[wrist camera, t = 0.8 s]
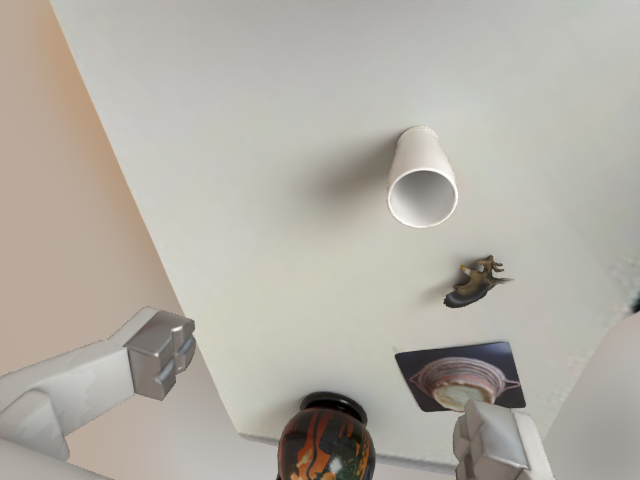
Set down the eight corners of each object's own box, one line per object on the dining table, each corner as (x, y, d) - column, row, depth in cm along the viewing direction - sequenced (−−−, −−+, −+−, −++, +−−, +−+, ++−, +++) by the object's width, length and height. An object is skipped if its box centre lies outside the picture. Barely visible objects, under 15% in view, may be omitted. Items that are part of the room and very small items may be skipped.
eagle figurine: (457, 246, 52) (431, 293, 56) (494, 275, 46) (462, 325, 50) (490, 247, 55) (463, 292, 59) (528, 275, 50) (496, 322, 54)
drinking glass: (383, 132, 46) (374, 183, 34) (435, 109, 43) (445, 155, 31) (402, 177, 49) (400, 237, 37) (452, 157, 46) (468, 216, 34)
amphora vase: (378, 389, 78) (366, 550, 55) (378, 438, 90) (369, 587, 67) (285, 377, 82) (240, 521, 60) (297, 425, 94) (263, 560, 72)
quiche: (508, 339, 62) (513, 358, 58) (526, 405, 71) (531, 425, 68) (393, 353, 70) (392, 370, 67) (422, 411, 79) (423, 428, 76)
